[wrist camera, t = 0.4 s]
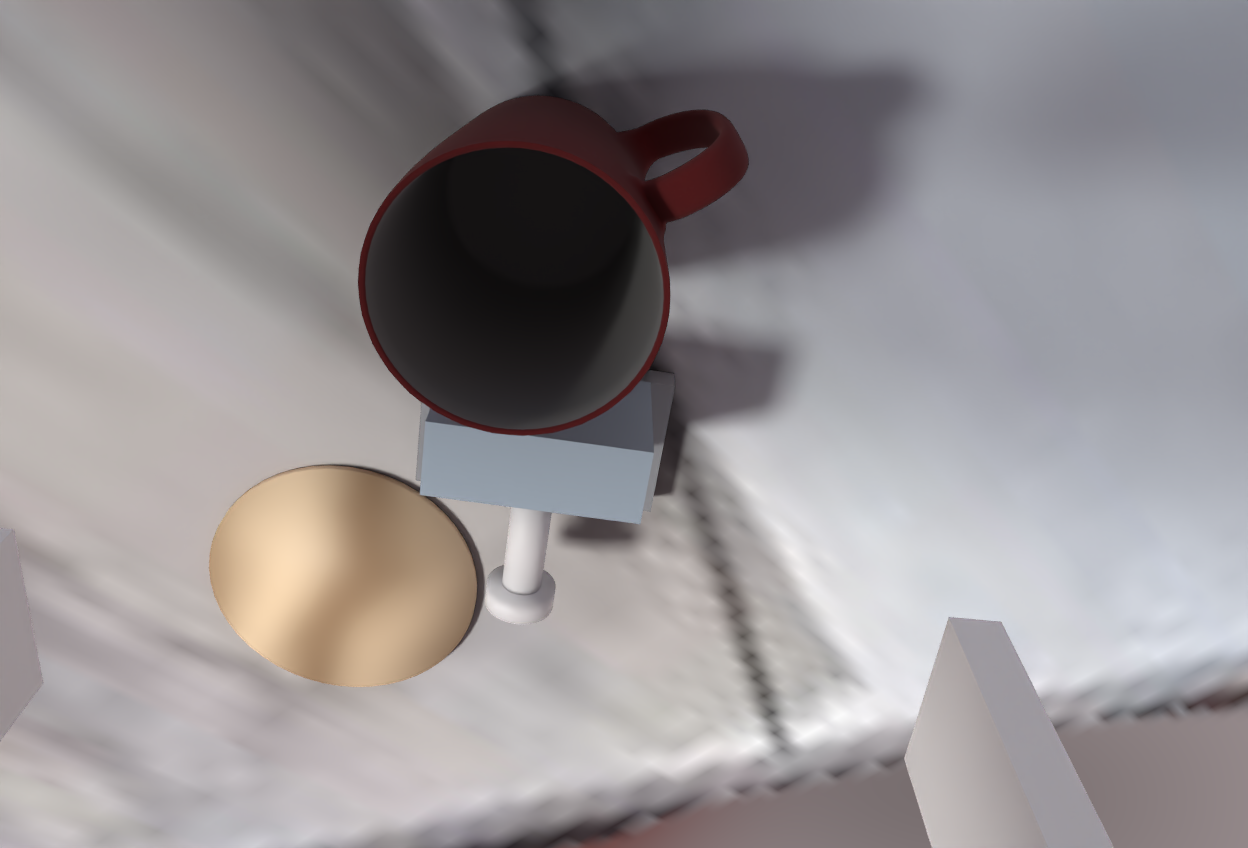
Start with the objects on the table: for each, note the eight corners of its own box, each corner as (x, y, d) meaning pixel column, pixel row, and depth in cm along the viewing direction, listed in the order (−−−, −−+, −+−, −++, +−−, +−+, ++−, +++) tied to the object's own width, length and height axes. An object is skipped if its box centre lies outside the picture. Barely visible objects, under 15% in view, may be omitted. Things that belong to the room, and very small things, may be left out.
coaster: (215, 664, 50) (212, 670, 49) (208, 447, 44) (205, 452, 44) (465, 694, 51) (464, 700, 50) (488, 485, 45) (488, 490, 45)
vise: (415, 533, 46) (382, 634, 40) (487, -416, 31) (452, -492, 25) (637, 562, 47) (638, 665, 41) (815, -353, 32) (861, -411, 25)
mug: (658, -25, 36) (670, 10, 26) (774, 194, 39) (823, 297, 30) (377, 153, 39) (293, 244, 29) (509, 343, 42) (473, 482, 32)
